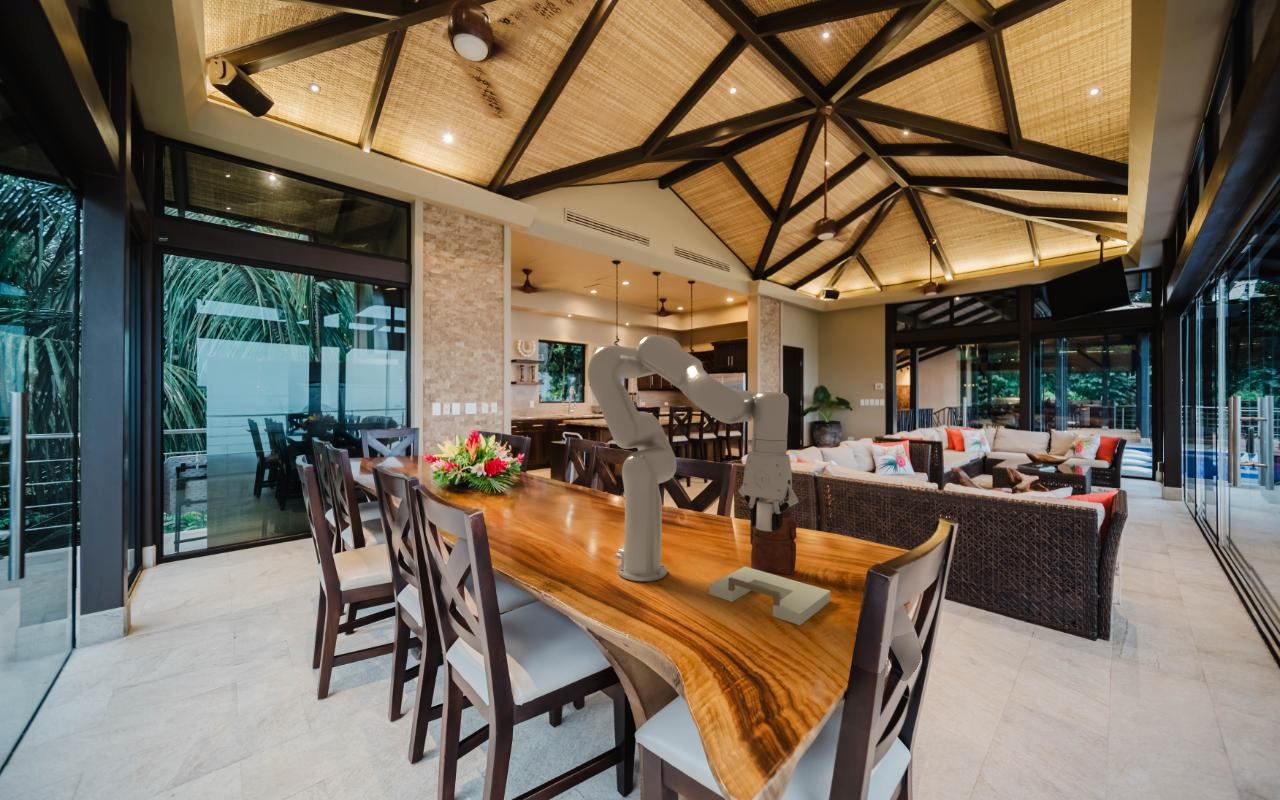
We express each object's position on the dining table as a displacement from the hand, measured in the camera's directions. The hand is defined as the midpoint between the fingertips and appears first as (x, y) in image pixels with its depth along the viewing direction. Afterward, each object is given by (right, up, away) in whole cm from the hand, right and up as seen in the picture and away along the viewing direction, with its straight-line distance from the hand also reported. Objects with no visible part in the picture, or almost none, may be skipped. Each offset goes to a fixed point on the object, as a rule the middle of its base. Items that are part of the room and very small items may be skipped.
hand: (765, 526), depth 112 cm
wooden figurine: (+7, -17, +20) cm, 27 cm away
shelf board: (+1, -17, +2) cm, 17 cm away
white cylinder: (0, 0, 0) cm, 0 cm away
